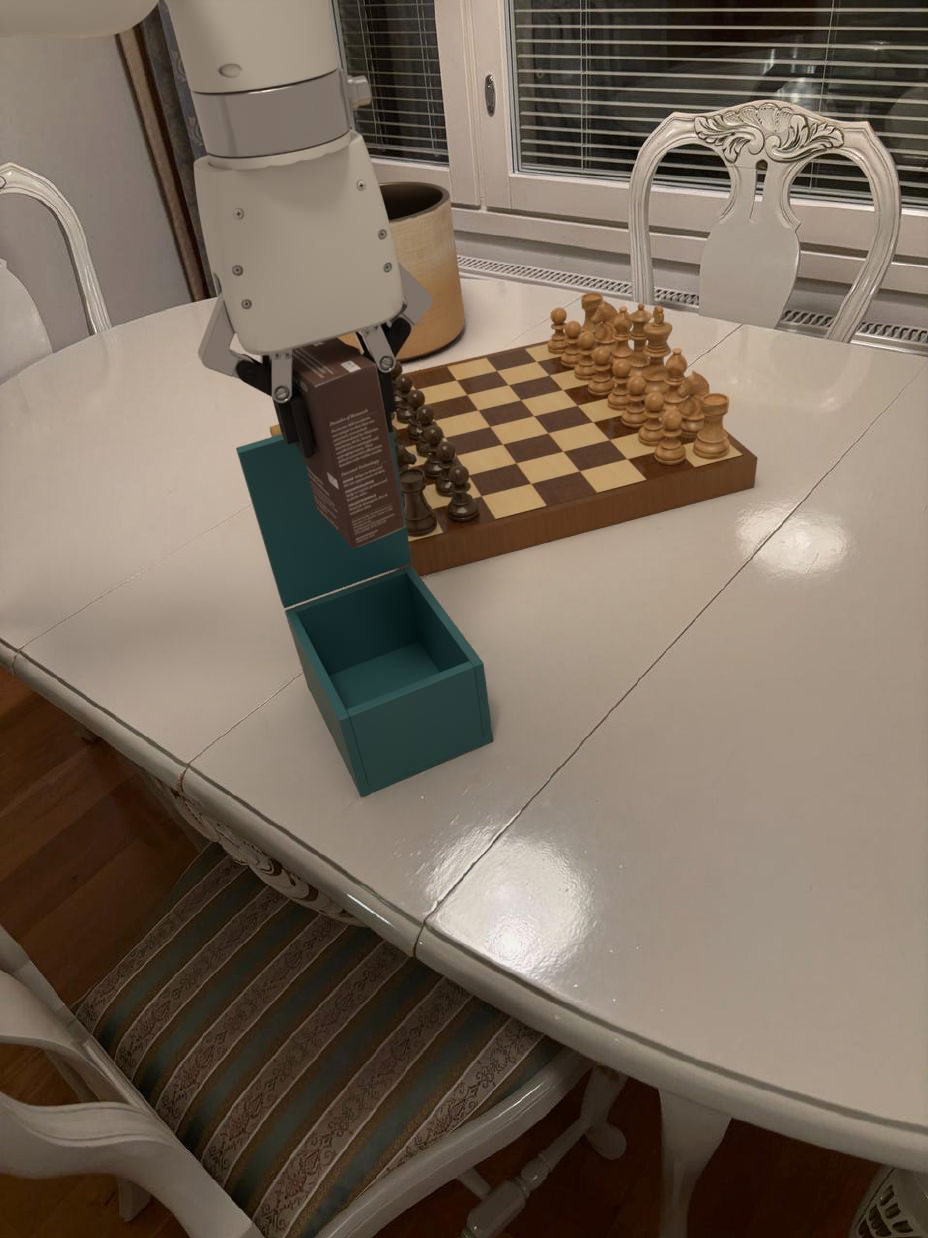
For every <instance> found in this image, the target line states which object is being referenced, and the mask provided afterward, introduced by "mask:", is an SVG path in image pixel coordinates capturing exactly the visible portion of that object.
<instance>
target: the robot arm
mask: <svg viewBox="0 0 928 1238" xmlns="http://www.w3.org/2000/svg"><path fill="white" fill-rule="evenodd" d="M159 1H160V0H0V38H21V39H22V38H25V39H28V38H29V39H70V40H71V39H75V40H76V39H77V40H79V39H81V40H83V39H84V40H85V39H100V38H107V37H111V36H114V35H117V34H121V33H125V32H126V31H129V30H130V29H132V28H133V27H135V26H136V25H138V24H139V23H141V22H142V21H143V20H144V19H146V18H147V17H148V16H149V15H150V13H152V11H153V10H154V9H155V8H156V6H157V5H158V3H159ZM163 1H164V2H165V4H166V6H167V10H168V14H169V17H170V21H171V24H172V28H173V32H174V36H175V39H176V43H177V48H178V51H179V54H180V58H181V63H182V67H183V70H184V73H185V77H186V81H187V85H188V89H189V90H190V95H191V100H192V103H193V107H194V111H195V114H196V117H197V118H196V119H197V122H198V125H199V128H200V129H199V130H200V133H201V137H202V140H203V145H204V148H205V151H206V155H205V156H201V157H200V158H198V159H196V160H195V161H193V176H194V186H195V187H194V188H195V194H196V201H197V208H198V214H199V221H200V225H201V231H202V237H203V241H204V246H205V252H206V255H207V259H208V264H209V268H210V273H211V277H212V281H213V286H214V290H215V293H216V298H217V299H216V302H215V304H214V306H213V309H212V312H211V315H210V318H209V321H208V323H207V325H206V328H205V331H204V334H203V337H202V339H201V342H200V344H199V347H198V350H197V356H198V359H199V360H200V361H201V363H202V365H203V366H204V367H205V368H207V369H209V370H211V371H214V372H218V373H220V374H223V375H226V376H228V377H231V378H232V377H233V378H236V379H239V380H240V381H241V382H242V383H244V384H247V385H248V386H250V387H252V388H254V389H256V390H257V391H259V392H262V393H263V394H265V395H267V396H269V397H271V399H272V404H273V407H274V411H275V414H276V418H277V422H278V424H279V426H280V430H281V433H282V436H283V438H284V440H285V442H286V443H287V445H289V444H292V443H295V445H296V446H297V448H298V449H299V451H300V452H301V454H302V455H303V457H304V458H305V459H307V458H311V457H313V454H316V452H315V448H314V444H313V440H312V435H311V431H310V427H309V423H308V419H307V415H306V410H305V406H304V403H303V400H302V398H301V397H300V396H299V394H298V393H297V392H296V390H295V388H294V386H293V384H292V350H293V349H296V348H300V347H304V346H308V345H311V344H315V343H319V342H322V341H326V340H329V339H333V338H337V337H340V336H344V335H347V334H351V333H354V334H355V337H356V339H357V341H358V343H359V345H360V347H361V349H362V352H363V354H362V355H363V356H364V357H366V358H367V359H369V360H370V361H372V362H373V363H375V364H376V366H377V371H378V376H379V382H380V387H381V393H382V398H383V403H384V409H385V415H386V421H387V426H388V431H389V433H391V432H393V427H392V421H391V415H390V413H393V412H396V403H395V398H394V392H393V386H392V380H391V374H390V371H391V370H393V368H394V367H395V364H396V361H395V357H396V356H397V354H398V353H399V351H400V349H401V348H402V346H403V345H404V343H405V342H406V340H407V338H408V337H409V335H410V333H411V329H412V327H413V326H414V325H416V324H417V323H418V322H419V321H420V319H421V318H422V317H423V316H424V315H425V313H426V312H427V311H428V310H429V309H430V307H431V306H432V304H433V297H432V296H431V295H430V294H429V292H428V291H427V290H426V289H425V288H424V287H423V286H422V285H421V284H420V283H419V282H418V281H417V280H416V279H415V278H414V277H413V276H412V275H411V274H410V273H409V272H408V271H407V270H406V269H405V268H404V267H403V266H402V265H401V264H400V263H399V262H398V260H397V255H396V250H395V246H394V241H393V237H392V233H391V228H390V224H389V220H388V216H387V212H386V209H385V205H384V201H383V198H382V194H381V191H380V187H379V184H378V183H379V181H378V178H377V174H376V171H375V168H374V165H373V162H372V159H371V156H370V154H369V150H368V148H367V145H366V143H365V140H364V137H363V135H362V134H361V133H359V132H358V131H356V130H354V129H350V127H353V126H354V123H353V116H354V112H353V111H358V109H359V107H361V106H366V105H370V104H371V100H372V94H371V88H370V87H371V86H370V83H369V81H368V78H367V77H366V76H365V75H360V76H354V77H353V76H352V75H350V74H349V75H347V74H346V73H345V69H344V68H342V67H339V66H340V63H339V57H338V52H337V51H338V50H337V45H336V38H335V32H334V27H333V21H332V16H331V9H330V4H329V3H330V2H329V0H163ZM235 335H236V336H237V337H236V338H237V339H238V341H239V344H240V346H241V348H242V350H244V351H245V352H246V354H245V353H240V352H237V351H235V350H233V349H231V344H232V341H233V338H234V337H235ZM247 353H249V354H251V355H255V356H259V358H260V359H259V360H260V361H259V360H257V359H256V358H254V357H252V356H250V355H248V354H247Z"/></svg>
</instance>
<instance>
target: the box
mask: <svg viewBox="0 0 928 1238" xmlns="http://www.w3.org/2000/svg"><path fill="white" fill-rule="evenodd" d="M292 384H293V386H294V388H295V390H296V392H297V393H298V394H299V396H300V397H301V398H302V400H303V403H304V406H305V410H306V415H307V419H308V423H309V427H310V431H311V435H312V440H313V444H314V448H315V452H316V454H313V457H311V458H307V459H305V458H304V460H305V465H306V468H307V472H308V476H309V480H310V484H311V488H312V492H313V496H314V500H315V504H316V507H317V512H318V513H319V514H320V515H321V516H323V518H325V519H326V520H327V521H328V522H329V523H330V524H331V525H332V527H333V528H334V529H335V530H337V532H339V534H340V535H341V536H342V537H343V538H344V539H345V540H346V541H347V543H348V544H349V545H350V546H351V547H352V548H355V547H360V546H362V545H365V544H367V543H369V542H372V541H374V540H377V539H380V538H382V537H384V536H388V535H390V534H392V533H393V532H397V531H398V530H400V529H402V528H404V527H405V521H404V515H403V509H402V504H401V498H400V492H399V487H398V481H397V476H396V471H395V464H394V459H393V453H392V448H391V443H390V437H389V431H388V426H387V421H386V415H385V409H384V403H383V398H382V393H381V387H380V382H379V376H378V371H377V366H376V364H375V363H373V362H372V361H370V360H369V359H367V358H366V357H364V356H363V355H362V354H361V353H360V351H359V350H358V349H357V348H355V347H354V346H351V345H348V344H345V343H344V342H343V341H341V340H340V339H339V338H333V339H329V340H326V341H322V342H319V343H315V344H311V345H308V346H304V347H300V348H296V349H293V350H292Z"/></svg>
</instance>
